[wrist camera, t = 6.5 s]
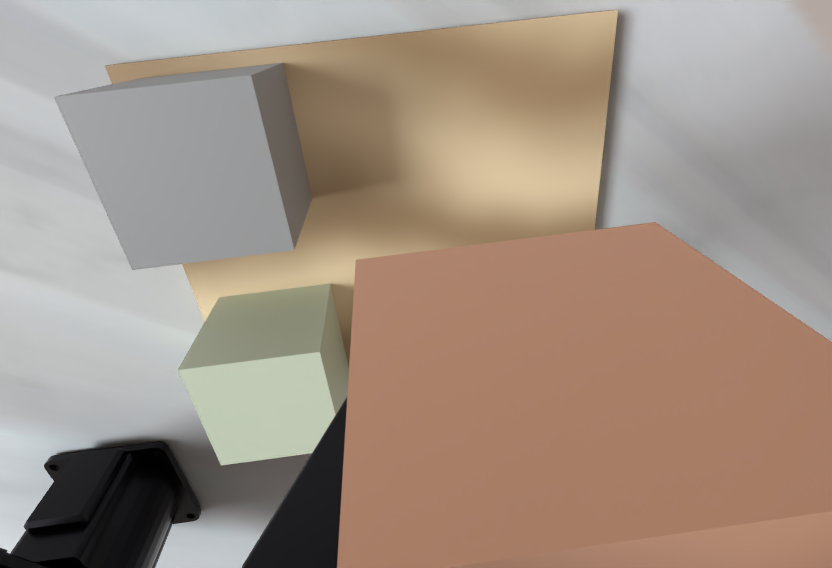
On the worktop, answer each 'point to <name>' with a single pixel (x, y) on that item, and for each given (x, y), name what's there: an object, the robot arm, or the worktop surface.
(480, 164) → the oak board
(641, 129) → the worktop surface
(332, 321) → the sage block
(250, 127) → the grey block
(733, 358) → the terracotta block
